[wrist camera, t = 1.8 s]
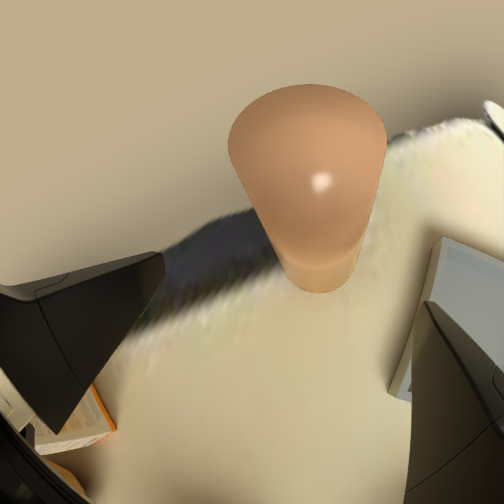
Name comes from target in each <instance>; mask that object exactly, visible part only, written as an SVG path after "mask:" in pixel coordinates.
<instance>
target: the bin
mask: <svg viewBox="0 0 504 504" xmlns="http://www.w3.org/2000/svg"><path fill="white" fill-rule="evenodd" d="M424 300H427V301H434V302H436V303H437V304H438V305H439V306H440V307H441V308H442V309H443V310H444V311H445V312H446V313H447V314H448V315H449V316H450V317H451V318H452V319H453V320H454V321H455V322H456V323H457V324H458V325H459V326H460V327H461V328H462V329H463V330H464V331H465V332H466V333H467V334H468V335H469V336H470V337H471V338H472V339H473V340H474V341H475V342H476V343H477V344H478V345H479V346H480V347H481V348H482V349H483V350H484V351H485V353H486V354H487V355H488V356H489V357H490V358H491V359H492V360H493V361H494V362H495V364H496V365H497V366H498V367H499V368H500V369H501V370H502V371H503V372H504V262H503V261H501V260H499V259H496V258H494V257H492V256H490V255H487V254H485V253H483V252H481V251H478V250H476V249H474V248H471V247H469V246H467V245H464V244H462V243H459V242H457V241H454V240H452V239H449V238H447V237H444V236H442V238H441V239H440V240H439V241H438V242H437V243H436V244H435V246H434V247H433V248H432V250H431V255H430V260H429V265H428V269H427V274H426V278H425V282H424V286H423V290H422V294H421V298H420V301H419V305H418V309H417V312H416V315H415V318H416V316H417V313H418V311H419V308H420V305H421V303H422V302H423V301H424ZM414 321H415V319H414ZM413 325H414V322H413ZM413 325H412V328H411V331H410V334H409V337H408V340H407V343H406V346H405V349H404V352H403V354H402V357H401V360H400V362H399V365H398V368H397V370H396V373H395V375H394V378H393V380H392V382H391V385H390V387H389V389H388V392H387V393H388V394H390V395H392V396H394V397H395V398H398V399H402V400H405V401H408V402H412V382H411V362H412V344H413ZM496 365H495V366H496Z"/></svg>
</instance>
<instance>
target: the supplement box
mask: <svg viewBox="0 0 504 504" xmlns="http://www.w3.org/2000/svg"><path fill="white" fill-rule="evenodd" d="M30 423H31V424H32V425H33V426H34V427H35V450H36V451H37V452H38V453H39V454H40V455H46V454H52V453H58V452H63V451H68V450H73V449H77V448H82V447H87V446H90V445H93V444H94V443H96V442H98V441H99V440H101V439H102V438H104V437H105V436H107V435H108V434H110V433H112V432H114V431H116V427H115V425H114V424H113V422H112V421H111V419H110V417H109V415H108V413H107V411H106V410H105V408H104V406H103V404H102V402H101V400H100V398H99V396H98V394H97V392H96V390H95V388H94V386H93V384H91V386H90V387H89V388H88V390H87V391H86V392H85V395H84V396H83V398H82V399H81V401H80V402H79V404H78V405H77V407H76V408H75V410H74V411H73V413H72V414H71V416H70V417H69V419H68V420H67V422H66V423H65V425H64V426H63V428H62V430H61V431H60V433H59V434H58V435H55V434H54V433H53V432H52V431H51V430H50V429H49V428H48V427H47V426H46V425H45V424H44V423H43V422H41V421H40V420H39V419H38V418H37V417H36V416H34V418H33V419H32V420H31V421H30Z"/></svg>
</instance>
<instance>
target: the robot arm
mask: <svg viewBox="0 0 504 504" xmlns="http://www.w3.org/2000/svg"><path fill="white" fill-rule="evenodd" d="M165 276H166V270H165V264H164V257H163V255H162V254H161V253H159V252H154V251H151V252H147V253H143V254H139V255H135V256H131V257H127V258H123V259H119V260H115V261H111V262H108V263H103V264H99V265H95V266H91V267H88V268H84V269H80V270H76V271H72V272H70V273H65V274H61V275H57V276H54V277H49V278H46V279H41V280H37V281H32V282H28V283H24V284H19V285H14V286H5V285H1V284H0V504H96V503H95V502H93V501H92V500H91V499H89V498H88V497H87V496H85V495H84V494H83V493H82V492H80V491H79V490H78V489H77V488H75V487H74V486H73V485H72V484H71V483H70V482H68V481H67V480H66V479H65V478H64V477H63V476H62V475H60V474H59V473H58V472H57V471H56V470H55V469H54V468H53V467H52V466H51V465H50V464H49V463H48V462H47V461H46V460H45V459H44V458H43V457H42V456H41V455H40V454H39V453H38V452H37V451H36V450H35V427H34V426H33V425H32V424H31V423H30V421H31V420H32V419H33V418H34V416H36V417H37V418H38V419H39V420H40V421H41V422H43V423H44V424H45V425H46V426H47V427H48V428H49V429H50V430H51V431H52V432H53V433H54V434H55V435H58V434H59V433H60V431H61V430H62V428H63V426H64V425H65V423H66V422H67V420H68V419H69V417H70V416H71V414H72V413H73V411H74V410H75V408H76V407H77V405H78V404H79V402H80V401H81V399H82V398H83V396H84V395H85V392H86V391H87V390H88V388H89V387H90V386H91V384H92V383H93V381H94V380H95V378H96V377H97V375H98V374H99V373H100V371H101V370H102V368H103V367H104V366H105V364H106V363H107V361H108V360H109V358H110V357H111V356H112V354H113V353H114V352H115V350H116V349H117V347H118V346H119V345H120V343H121V342H122V341H123V339H124V338H125V336H126V335H127V334H128V332H129V331H130V330H131V328H132V327H133V326H134V324H135V323H136V322H137V320H138V319H139V318H140V316H141V315H142V314H143V312H144V311H145V310H146V308H147V307H148V305H149V303H150V302H151V300H152V299H153V297H154V295H155V294H156V292H157V290H158V289H159V287H160V286H161V284H162V282H163V281H164V279H165ZM495 365H496V364H495V362H494V361H493V360H492V359H491V358H490V357H489V356H488V355H487V354H486V353H485V351H484V350H483V349H482V348H481V347H480V346H479V345H478V344H477V343H476V342H475V341H474V340H473V339H472V338H471V337H470V336H469V335H468V334H467V333H466V332H465V331H464V330H463V329H462V328H461V327H460V326H459V325H458V324H457V323H456V322H455V321H454V320H453V319H452V318H451V317H450V316H449V315H448V314H447V313H446V312H445V311H444V310H443V309H442V308H441V307H440V306H439V305H438V304H437V303H436V302H434V301H427V300H424V301H423V302H422V303H421V305H420V308H419V311H418V313H417V316H416V318H415V321H414V325H413V344H412V362H411V382H412V420H411V441H410V455H409V465H408V474H407V482H406V489H405V495H404V501H403V504H504V372H503V371H502V370H501V369H500V368H499V367H498V366H497V365H496V366H495Z"/></svg>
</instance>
